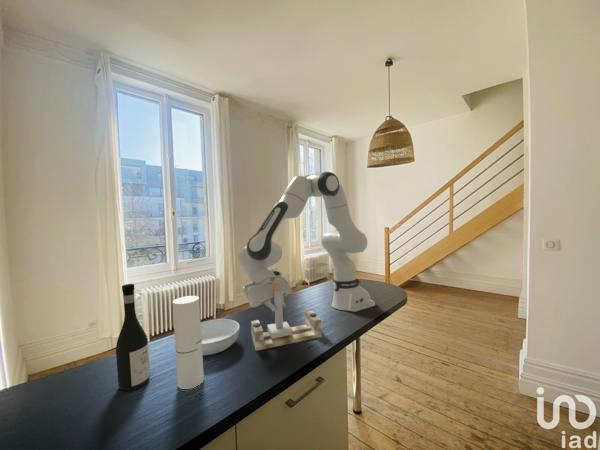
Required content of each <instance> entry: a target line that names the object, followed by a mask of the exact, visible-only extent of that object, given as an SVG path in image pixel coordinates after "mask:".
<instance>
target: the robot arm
mask: <svg viewBox="0 0 600 450" xmlns="http://www.w3.org/2000/svg"><path fill="white" fill-rule="evenodd" d="M311 197H313V198H315V197H317V198H320V197H321V198H323V202H324V206H325V213H326V218H327V222H328V223H329V224H330V225H331V227H334V229H335V230H330V231H326V232H324V233H323V234H322V236H321V239H320V241H321V245H322V247H323V249H325V250H326V251H327V253H328V255H329V256H330V259H331V263H332V267H333V268H332V269H333V279H332V286H333V297H332V303H331V307H332V308H334V309H336V310H339V311H347V312H355V313H356V312H358V311H362V310H365V309H369V308H372V307H375V306H376V303H375V301H374V300H373V299H371V295H370V293H369V291H367V290H366V289H365V288H363V287H362V286H360V284H363V282H364V281H363V280H362V279H360V278H356V265H355V262H354V260H351V258H350V257H349V255H348V254H358V253H363V252H364V251H365V250H367V247H368V238H367V236H366V234H365V233H363V232H362V231H360V230H359V229H358V228H357V227H356V225H355V223H354V222H353V220H352V218H351V215H350V209H349V205H348V200H347V196H346V193H345V191H344V187H343V185H342V184H341V183H340V180H339V178H338V176H337V175H336V174H335V173H334V172H329V171H324V172H315V173H312V174H307V175H305V176H303V175H296V176H294V177H293V178H292V179H291V181H289V183H288V185H287V187H286V188H285V190H284V192H283V193H282V196H281V198H280V199H279V200H278V202H276V203H275V204H274V205H273V206H272V208H271V209H270V210H269V212H268V214H267V216H266V217H265V218H264V220H263V222H262V223H261V225H260V227H259V229H257V231H256V232H255V233H254V234H253V235H251V237H250V238H249V239H248V240H247V243H246V246H245V247H242V248H241V250H240V251H239V253H238V261H239V264H240V266H241V268H242V270H243V272H244V273H245V274H246V275H247V277H248V281H249V282H250V283H249V284H245V285H244V286H243V289H242V291H243V293H244V295H245V296H246V300H247V302H248V304H249V306H250V307H251V308H257V307H260V306H262V305H264V304H265V306H266V307H267V308H270V310H271V311H272V313H273V312H274V313H275V311H276V310H277V309H278V308H277V307H276V305H275V304H274V303H272V302H274V290H273V285H274V284H275V283H280V284H281V285H282V309H283V308H285V307H286V302H285V301H284V300H285V299H284V297H285V296H288V295H289V294H290V293H291V292H292V289H293V288H292V286H291V284H290V283H289V282H288V280H287V279H286V278H285V277H284V276H282V275H283V273H282V272H281V271H280V270H279V271H278V270H271V269H270V270H269V268H270V267H271V266H273V265H275V264H276V263H278V262H279V261H280V259H281V258H282V254H283V253H282V252H283V250H282V248H281V246H280V245H279V244H277V243H276V242H275V241H273V238H274V235H275V234H276V232H277V231H278V229H279V227H280V225H281V223H282V222H283V221H284V220H286V219H295V218H298V217H299V216H300V215H301V214H302V212H303V211H304V209H305V208H306V207H305V206H306V204H307V202H308V200H309V198H311ZM347 253H348V254H347Z"/></svg>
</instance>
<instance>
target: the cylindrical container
mask: <svg viewBox="0 0 600 450" xmlns="http://www.w3.org/2000/svg"><path fill="white" fill-rule="evenodd" d="M200 305H201V304H200V297H199V296H198V295H185V296H182V297H181V296H180V297H178V298H176V299H173V300H172V312H173V313H172V314H173V328H174V329H173V330H174V332H173V333H174V343H175V344H174V345H175V346H174V347H175V360H176V363H175V364H176V376H177V386H178V387H179V388H182V389H191V388H194V387H196V386H198V385H199V386H201V385H202V384H203V383H204V381H203V380H204V379H205V377H204V376H205V375H204V359H203V358H204V357H203V356H204V355H202V339H201V322H202V321H201V308H200ZM201 383H202V384H201ZM200 384H201V385H200ZM199 386H198V387H199ZM179 388H178V389H179ZM196 388H197V387H196ZM194 389H195V388H194ZM191 390H192V389H191Z"/></svg>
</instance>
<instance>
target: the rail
mask: <svg viewBox="0 0 600 450" xmlns="http://www.w3.org/2000/svg"><path fill="white" fill-rule="evenodd" d="M304 314H305V315H304V317H305V324H301V325H296V326H290V327H291V328H292V335H287V336H282V337H277V338H271V336H270V334H269V332H268V331H264V329H263V326H262V325H261V323H260V320H259V319H254V320H250V328H251V329H250V330H251V331H250V334H251V340H252V344H253V346H254V349H255V352H256V351H261V350H262V351H263V350H266V349H271V348H276V347H281V346H286V345H289V344H295V343H299V342H305V341H309V340H312V339H313V340H314V339H318V338H322V337H323V335H322V330H323V329H322V319H321V318H320V317H319V316H318V315H317V313H315V312H314V311H313V310H308V311H305V312H304Z"/></svg>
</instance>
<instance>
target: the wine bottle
mask: <svg viewBox="0 0 600 450" xmlns="http://www.w3.org/2000/svg"><path fill="white" fill-rule="evenodd" d="M121 291H122V298H123V299H122V300H123V307H124V308H123V309H124V317H123V318H124V319H123V322H122V323H123V324H122V327H121V329H120V332H119V335H118V337H117V341H116V347H115V355H116V356H115V357H116V372H117V383H118V387H119V389H120V390H121V391H127V390H128V391H133V390H136V389H138V387H139V388H141V387H142V386H144V385H145V384H146V383H147V382H148V381H149V380H150V377H151V367H150V352H149V351H150V350H149V341H148V337H147V334H146V332H145V330H144V329H143V327H142V325H141V324H140V322H139V319H138V317H137V314H136V304H135V303H136V302H135V301H136V300H135V284H134V283H128V284H127V283H126V284H123V285H122V286H121ZM140 386H141V387H140ZM135 388H136V389H135ZM132 389H133V390H132Z"/></svg>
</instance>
